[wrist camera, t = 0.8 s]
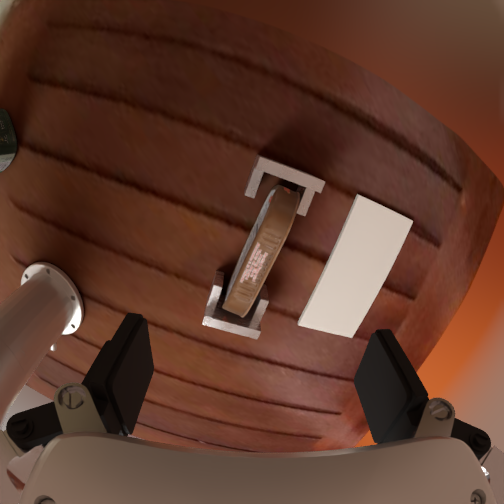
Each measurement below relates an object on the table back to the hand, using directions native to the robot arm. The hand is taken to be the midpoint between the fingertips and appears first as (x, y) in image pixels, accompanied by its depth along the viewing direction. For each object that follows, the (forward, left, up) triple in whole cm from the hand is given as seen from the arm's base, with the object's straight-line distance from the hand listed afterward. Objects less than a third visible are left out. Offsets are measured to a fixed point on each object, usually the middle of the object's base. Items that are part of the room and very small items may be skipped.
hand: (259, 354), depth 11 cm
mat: (-3, -16, -24) cm, 29 cm away
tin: (-3, -2, -24) cm, 25 cm away
